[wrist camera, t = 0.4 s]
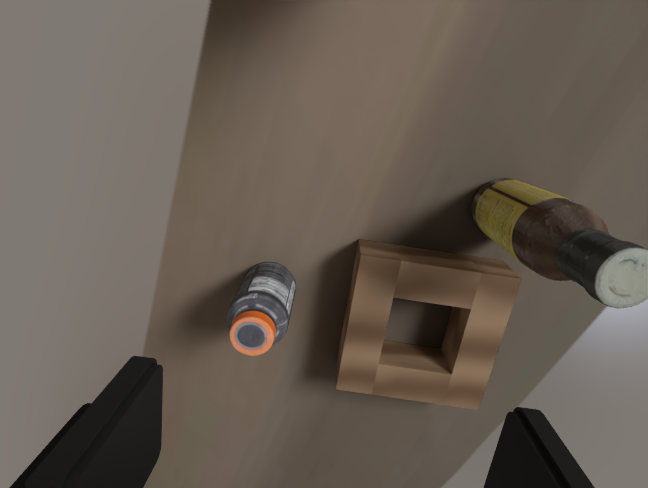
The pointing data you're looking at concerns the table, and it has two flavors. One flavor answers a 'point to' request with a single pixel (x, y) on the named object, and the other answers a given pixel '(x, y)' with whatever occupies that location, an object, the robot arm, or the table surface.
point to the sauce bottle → (562, 241)
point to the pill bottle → (261, 308)
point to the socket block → (414, 360)
